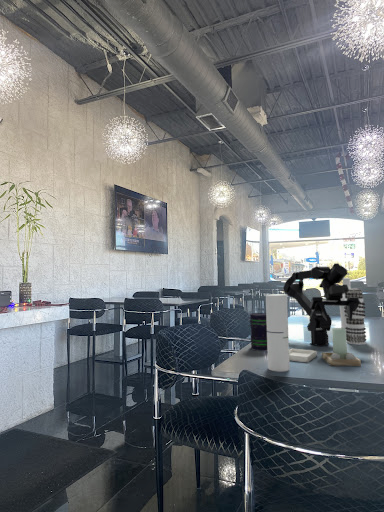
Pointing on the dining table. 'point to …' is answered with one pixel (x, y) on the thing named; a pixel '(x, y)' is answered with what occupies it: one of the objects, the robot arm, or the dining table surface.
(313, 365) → the dining table surface
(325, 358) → the wooden tray
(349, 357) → the pebble
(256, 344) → the storage jar
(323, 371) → the dining table surface
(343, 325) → the bottle
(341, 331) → the sage green tall cylinder
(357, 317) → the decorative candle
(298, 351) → the white tray
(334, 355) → the white ball
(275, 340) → the cylindrical container
